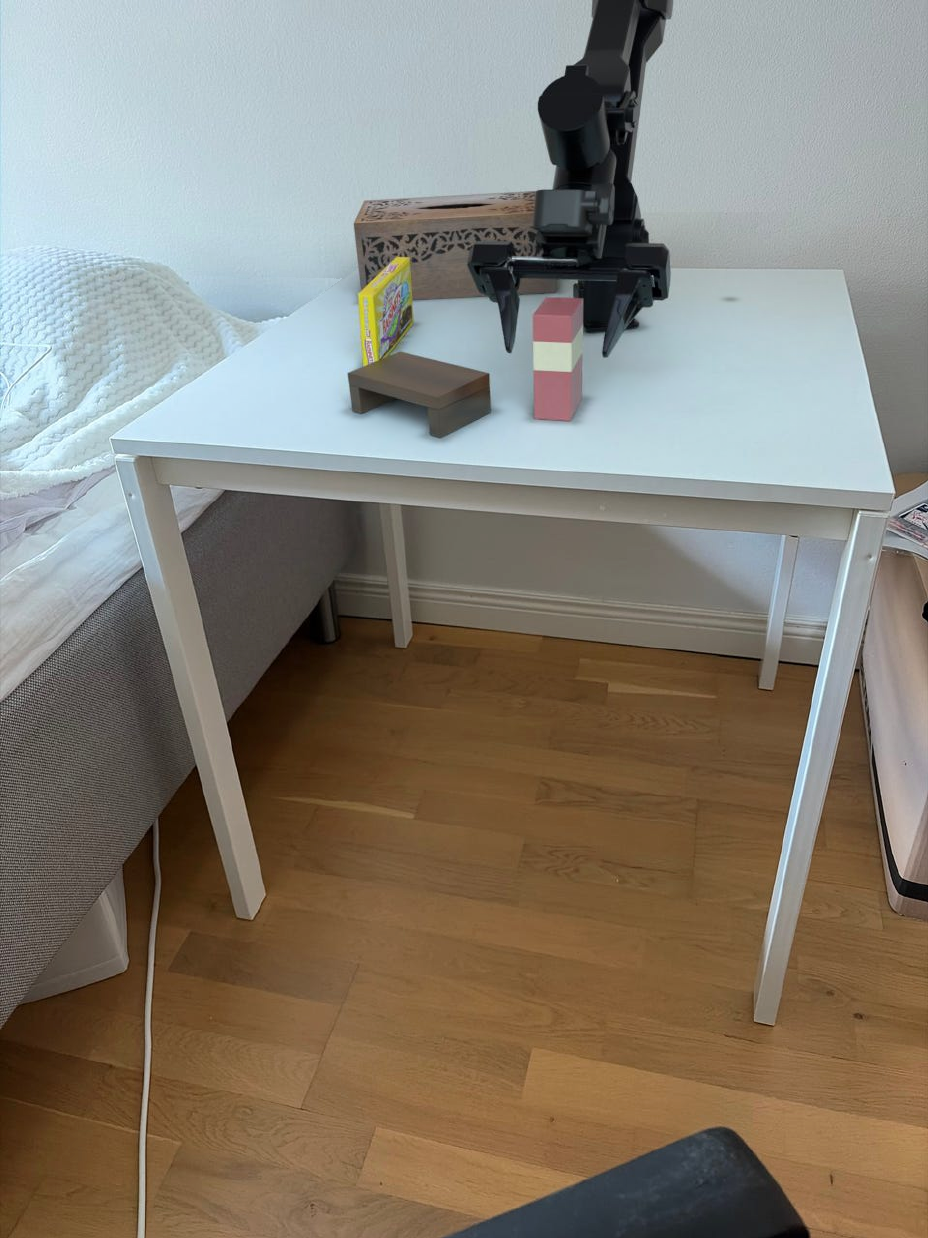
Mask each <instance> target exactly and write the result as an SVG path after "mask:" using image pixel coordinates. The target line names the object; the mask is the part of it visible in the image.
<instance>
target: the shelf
mask: <svg viewBox="0 0 928 1238" xmlns="http://www.w3.org/2000/svg"><path fill="white" fill-rule="evenodd" d="M490 376H491V375H490V372H486V371H482V370H478V369H473V368H471V367H465V366H462V365H457V364H453V363H449V362H446V361H442V360H438V359H437V360H436V359H433V358H429V357H425V356H421V355H418V354H417V355H416V354H412V353H409V352H404V351H397V352H395V353H392V354H389V355H388V356H387V357H385V358H383V359H380V360H378V361H375V362H373V363H371V364H368V365H366V366H363V365H362V366H361V367H359V368H356V369H354V370H351V371H348V372H347V381H348V388H349V389H348V390H349V396H350V404H351V411H352V412H353V413H357V414H360V415H363V414H365V413H367V412H370V411H372V410H373V409H376V408H378V407H380V406H382V405H385V404H388V403H389V402H392V401H394V400H396V399H398V400H402V401H405V402H408V403H412V404H416V405H420V406H422V407H423V406H424V407H427V415H428V416H427V419H428V426H429V427H428V429H429V436H432V437H435V438H439V439H442V438H444V437H446V436H448V435H450V434H452V433H453V432H456V431H458V430H459V429H461V428H463V427H465V426H467V425H469V424H471V423H473V422H475V421H477V420H479V419H481V418H483V417H485V416H487V415H489V414H491V413H492V404H491V400H492V399H491V378H490Z"/></svg>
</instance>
